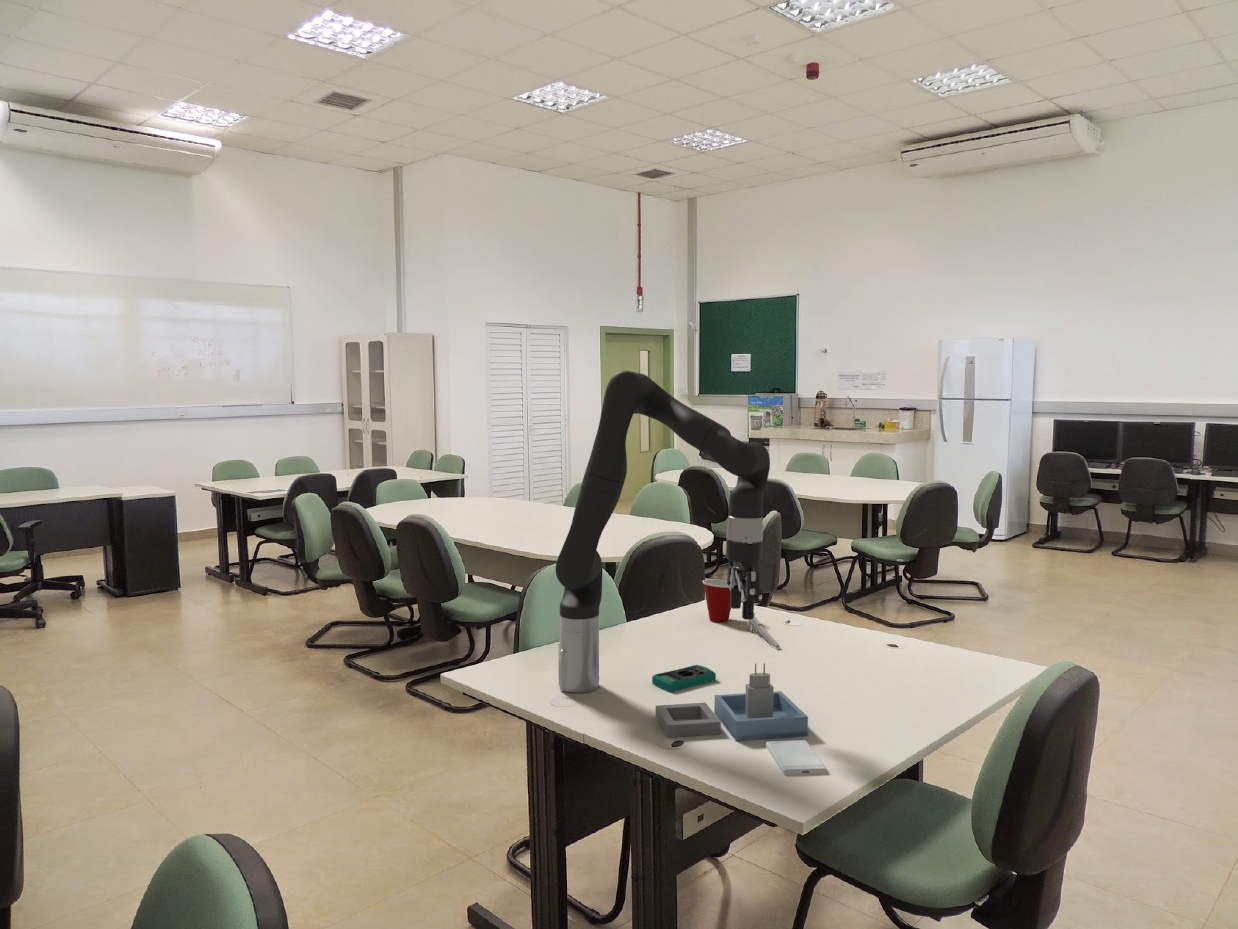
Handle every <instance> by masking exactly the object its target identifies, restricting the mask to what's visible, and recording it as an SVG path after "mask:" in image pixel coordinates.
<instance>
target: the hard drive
mask: <svg viewBox="0 0 1238 929" xmlns="http://www.w3.org/2000/svg"><path fill="white" fill-rule="evenodd" d="M765 749H766V750H767V751H768V753H769V754H770V756H771V758H772V759H773V761H774V762H775V764H776V765H777V767H778V768H779V770H780V771H781V773H782V775H783V776H789V775H790V776H791V775H816V774H818V775H819V774H820V775H821V774H828V768H827V767H826V766H825V764H824V763H823V761H822V760H821V758H819V755H817V754H816V752H815V751H814V749H813V748H812V747H811V745H810V744H809V742H808V741H807V740H804V739H803V740H801V739H800V740H774V741H772V740H771V741H767V742H766V743H765Z"/></svg>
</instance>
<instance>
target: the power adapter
mask: <svg viewBox="0 0 1238 929" xmlns="http://www.w3.org/2000/svg"><path fill="white" fill-rule="evenodd" d="M762 669H763V671H762V672H757V663H754V672H753V673H752V672H751V673H750V674H749V680H748V681H749V683H746V684H745V693H746V704H745V719H751V718H766V717H773V693H774V692H775V691H774V688H775V687H774V685H773V684H771V673H767V672H766V663H765V662H764V663H763V668H762Z"/></svg>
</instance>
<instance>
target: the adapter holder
mask: <svg viewBox="0 0 1238 929" xmlns="http://www.w3.org/2000/svg"><path fill="white" fill-rule="evenodd" d="M697 718H699V719H697ZM655 719H656V721H657V722H658V724H659V725H660V727H661V729H662V732H664V735H665V736H666V737H667V738H679V736H680V737H681V736H682V737H693V736H695V737H696V736H708V735H721V729H722V728H721V726H722V725H721V724H722V722H721V721H720V720H719V719H718V717H717V716H716V715H715V713H714V711H713V710H712V709H711V708H710V706H709V705H708V704H707V702H696V703H695V702H692V703H677V704H676V703H675V704H661V705H655ZM680 719H681V720H680ZM683 719H690V720H683ZM675 720H677V721H675ZM682 737H681V738H682Z"/></svg>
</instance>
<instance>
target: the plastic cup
mask: <svg viewBox="0 0 1238 929" xmlns="http://www.w3.org/2000/svg"><path fill="white" fill-rule="evenodd" d="M702 583H703V588H704V593H705V601H706V607H707V613H708V619H709V621H710V622H712V623H727V622H729V619H730V616H731V615H730V614H731V611H732V608H731V607H730V596H731V591H730V589H729V587H730V586H728V585H727V580H725V579H704V580H702Z"/></svg>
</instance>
